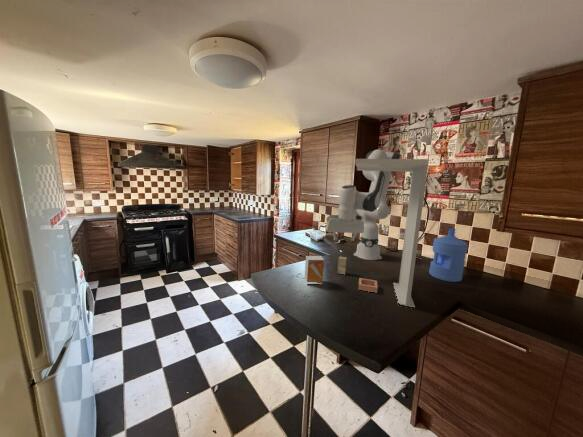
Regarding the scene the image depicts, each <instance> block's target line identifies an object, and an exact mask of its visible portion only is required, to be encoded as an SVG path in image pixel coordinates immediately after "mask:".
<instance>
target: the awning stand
mask: <svg viewBox="0 0 583 437" xmlns="http://www.w3.org/2000/svg"><path fill="white" fill-rule="evenodd" d="M429 161H430V160H429V159H428V158H424V159H423V158H421V159H419V158H402V159H366V158H355V161H354V165H355V166H356V171H362V172H363V171H394V172H402V173H403V172H406V173H409V172H411V179H410V188H409V197H408V204H407V214H406V221H405V228H404V229H405V230H404V237H403V247H402V253H401V254H402V255H401V262H400V270H399V271H400V272H399V278H398V282H393V283H392V285H394V286H393V289H395V290H394V294H395V293H396V294H395V297H396V296H397V298H396V300H397V299H398V301H397V304H398V303H399V304H400V305H404V306H409V307H414V308H415V309H416V306H415V303H414V300H413V298H412V289H413V282H414V274H415V266H416V259H417V252H418V244H419V237H420V227H421V221H422V214H423V207H424V200H425V198H424V197H425V190H426V183H427V174H428V169H429V168H428V167H429Z"/></svg>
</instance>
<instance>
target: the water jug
mask: <svg viewBox="0 0 583 437" xmlns="http://www.w3.org/2000/svg"><path fill="white" fill-rule="evenodd" d="M467 250H468V243H467V242H466V241H464V240H462V239H460V238H458V237H457V236H456V228H453V227H449V228H448V231H447V235H443V236H439V237H436V238H434V239H433V242H432V252H433V260H431V261H430V267H429V270H428V271H429V272H428V273H429V274H430V275H431V276H432V277H433V278H434V279H435V278H436V279H438V280H441V281H444V282H448V283H449V282H450V283H457V282H458V283H459V282H461V281H462V280H463V273H464V267H465V265H466V264H465V263H466V262H465V261H466V257H467V256H466V255H467Z"/></svg>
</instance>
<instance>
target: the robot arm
mask: <svg viewBox="0 0 583 437" xmlns="http://www.w3.org/2000/svg"><path fill="white" fill-rule="evenodd" d="M365 159H403V158H402V155H401V153H398V152H393V151H388V150H387V151H385V150H383V149H374V150H371V151H369V152H368V153H367V154H366V156H365ZM394 172H395V171H362V174H363V176H364V178H365V179H367V180H369V181H371V183H370V186H369V190H368V192H362V191H358V190H357V187H356V185H354V184H353V185H351V184H349V185H347V184H346V185H342V186H341V187H340V192H339V199H338V203H339V206H338V208H337V209H338V210H337V214H329V215H327V217H326V228H325V230H326V231H327V233H331V234H332V235H333V240H334V241H338V236H336V234H337V233H341V234H342V233H347V234H353V235H352V236H350V241H351V242H354V241H355V238H356V237H357V235H358V234H361V236H360V238H359V243H358V244H357V246H356V251H355V252H354V253H353V256H354V257H357V258H360V259H362V260H367V261H376V260H382V259H383V257H382V255H381V254H380V252H381V246H380V245H379V231H380V227H379V225H378V223H377V221H376V220H384V219H386V218H388V216H389V214H390V208H389V205H388V204H387V193H388V189H389V186H390V182H391V177H392V173H394ZM356 211H357V213H355V212H356Z"/></svg>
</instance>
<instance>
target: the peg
mask: <svg viewBox="0 0 583 437" xmlns="http://www.w3.org/2000/svg"><path fill="white" fill-rule="evenodd" d="M337 259H338V260H337V261H338V262H337V272H336V273H339V274H344V275H343V276H345V275H346V269H347V267H346V266H347V257H345V256H339V257H338V258H337ZM339 274H338V275H339Z"/></svg>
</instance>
